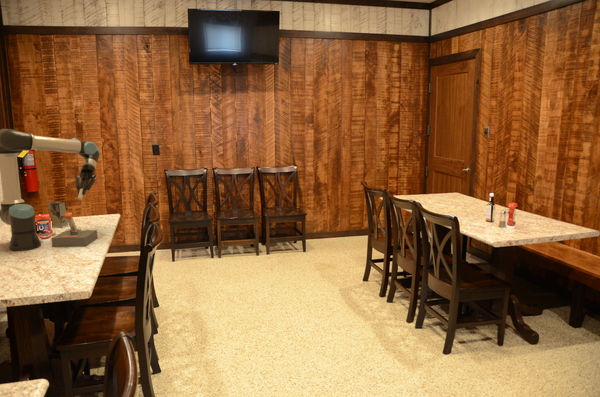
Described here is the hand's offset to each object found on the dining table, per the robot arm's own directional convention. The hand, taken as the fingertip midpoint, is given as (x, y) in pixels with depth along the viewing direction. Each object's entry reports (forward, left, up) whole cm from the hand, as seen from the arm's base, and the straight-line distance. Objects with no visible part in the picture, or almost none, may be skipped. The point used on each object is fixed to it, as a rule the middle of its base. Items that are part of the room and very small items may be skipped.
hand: (79, 198), depth 278 cm
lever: (-5, -8, -18) cm, 20 cm away
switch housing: (-5, -9, -24) cm, 26 cm away
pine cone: (-24, +33, -24) cm, 48 cm away
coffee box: (-8, +43, -24) cm, 50 cm away
